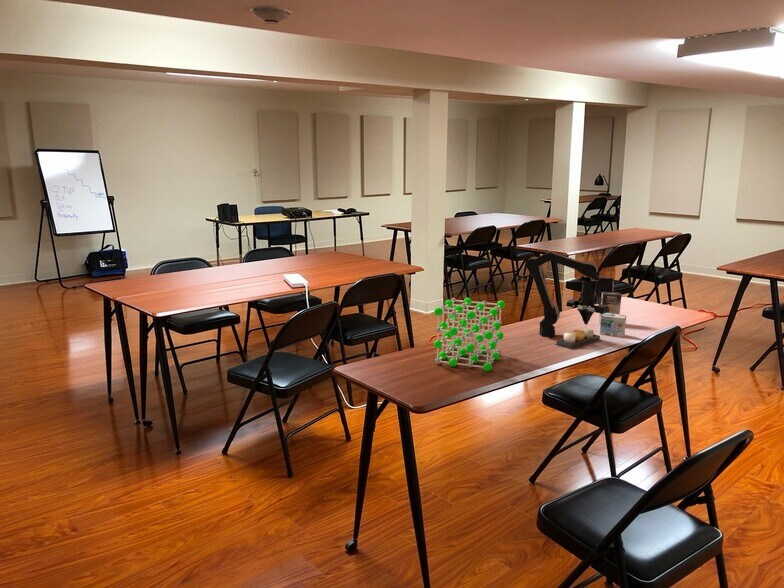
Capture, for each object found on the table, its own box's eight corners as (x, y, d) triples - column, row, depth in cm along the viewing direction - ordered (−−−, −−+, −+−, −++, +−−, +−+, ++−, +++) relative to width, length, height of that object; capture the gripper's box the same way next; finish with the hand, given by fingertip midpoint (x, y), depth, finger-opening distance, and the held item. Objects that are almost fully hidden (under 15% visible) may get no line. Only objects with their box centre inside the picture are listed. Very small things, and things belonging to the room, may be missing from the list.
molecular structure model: (503, 354, 260) (506, 299, 255) (490, 373, 238) (492, 313, 232) (449, 347, 269) (451, 295, 264) (432, 365, 247) (433, 308, 241)
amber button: (570, 338, 272) (571, 331, 271) (577, 336, 275) (577, 329, 274) (580, 341, 268) (580, 333, 267) (586, 339, 271) (587, 331, 270)
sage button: (579, 338, 276) (580, 330, 276) (585, 336, 280) (586, 328, 279) (589, 340, 273) (589, 332, 272) (595, 338, 276) (595, 330, 275)
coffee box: (599, 324, 306) (602, 293, 302) (598, 321, 312) (601, 291, 308) (619, 325, 303) (621, 294, 300) (617, 322, 310) (620, 292, 306)
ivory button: (561, 341, 268) (561, 333, 267) (567, 339, 271) (568, 331, 270) (570, 344, 264) (571, 336, 263) (577, 342, 267) (578, 334, 266)
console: (553, 347, 269) (553, 340, 268) (583, 338, 283) (583, 331, 282) (572, 353, 261) (573, 345, 261) (602, 343, 275) (602, 336, 275)
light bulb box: (598, 337, 284) (600, 315, 282) (601, 333, 290) (603, 312, 288) (622, 340, 279) (624, 318, 277) (624, 336, 285) (626, 314, 283)
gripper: (617, 292, 268) (614, 325, 272) (580, 285, 282) (578, 317, 286) (603, 295, 261) (600, 330, 265) (566, 288, 275) (564, 321, 279)
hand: (586, 324), depth 274 cm, fingers closed
